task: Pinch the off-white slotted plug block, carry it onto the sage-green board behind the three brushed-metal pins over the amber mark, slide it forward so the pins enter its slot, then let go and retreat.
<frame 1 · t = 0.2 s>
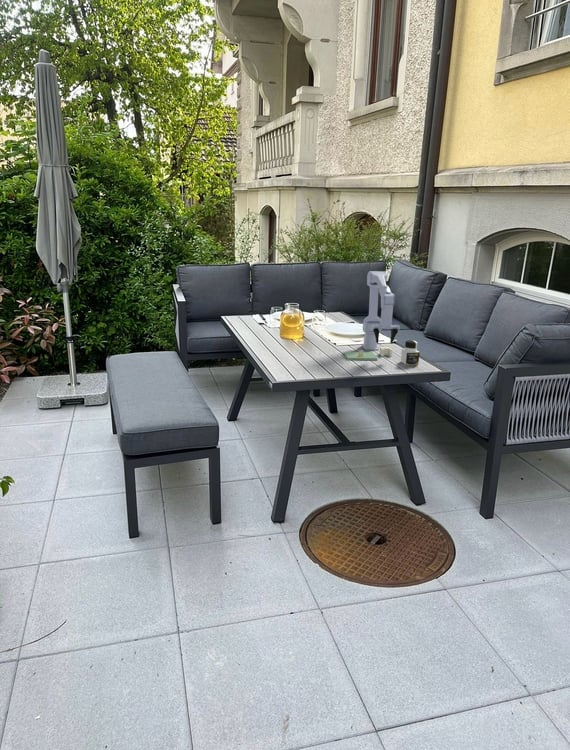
hand: (384, 342, 296), 10 cm above the table, tool pointing down, fingers open, 7 cm apart
medicine bottle: (409, 363, 296), on the table
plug: (385, 355, 310), on the table
header board: (360, 357, 305), on the table
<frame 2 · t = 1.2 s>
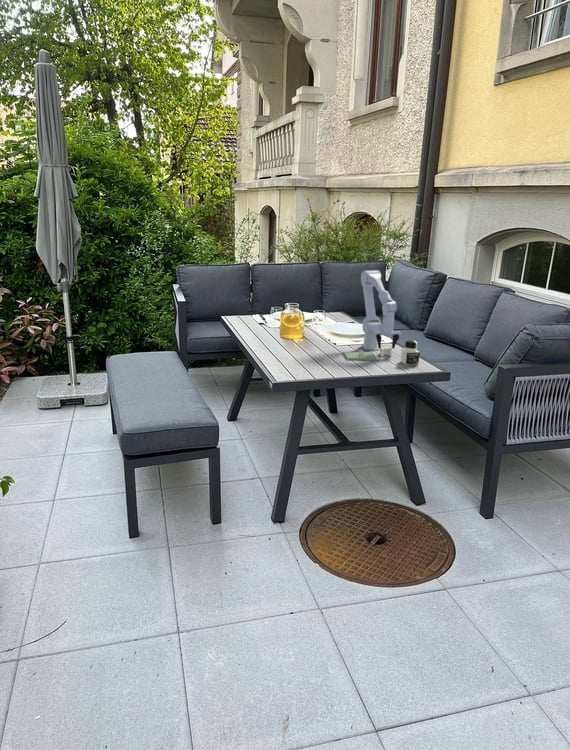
hand: (386, 348, 309), 4 cm above the table, tool pointing down, fingers open, 7 cm apart
nothing on the table moved.
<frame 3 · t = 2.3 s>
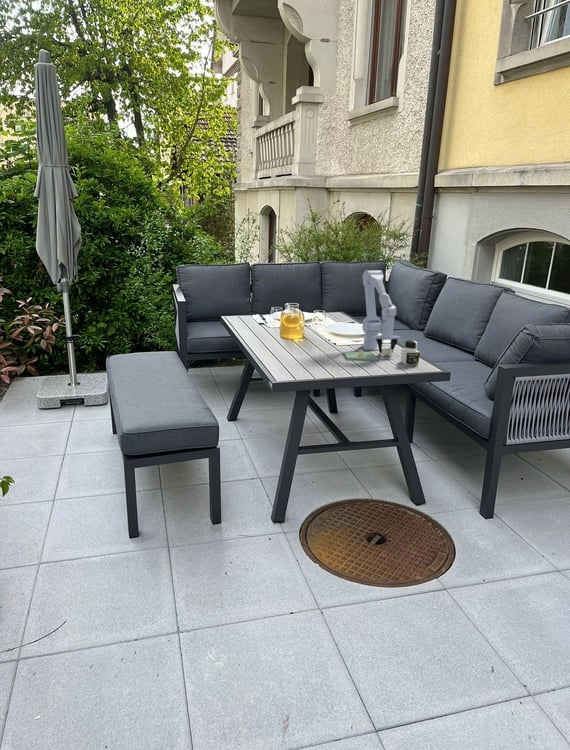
hand: (385, 352, 309), 2 cm above the table, tool pointing down, fingers closed on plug, 5 cm apart
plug: (385, 355, 310), on the table, touching gripper
everything else where it was.
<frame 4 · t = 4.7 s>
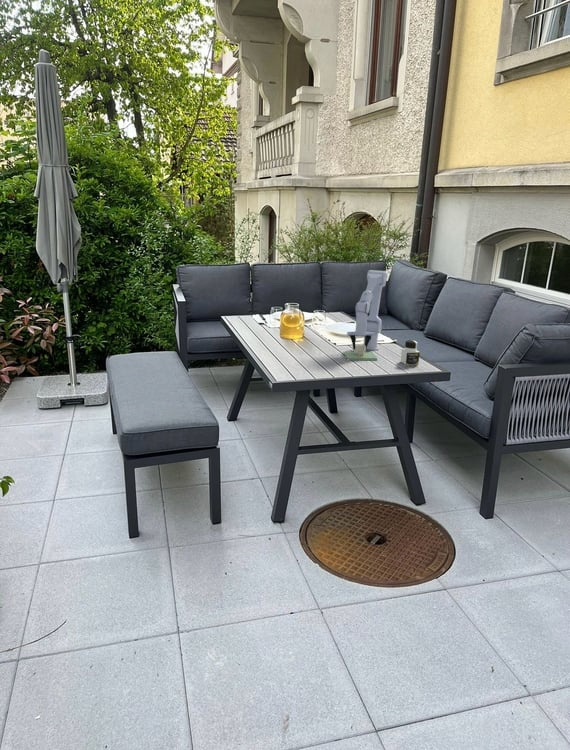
hand: (359, 349, 306), 4 cm above the table, tool pointing down, fingers closed on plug, 5 cm apart
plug: (359, 352, 306), point 2 cm above the table, touching gripper
everything else where it was.
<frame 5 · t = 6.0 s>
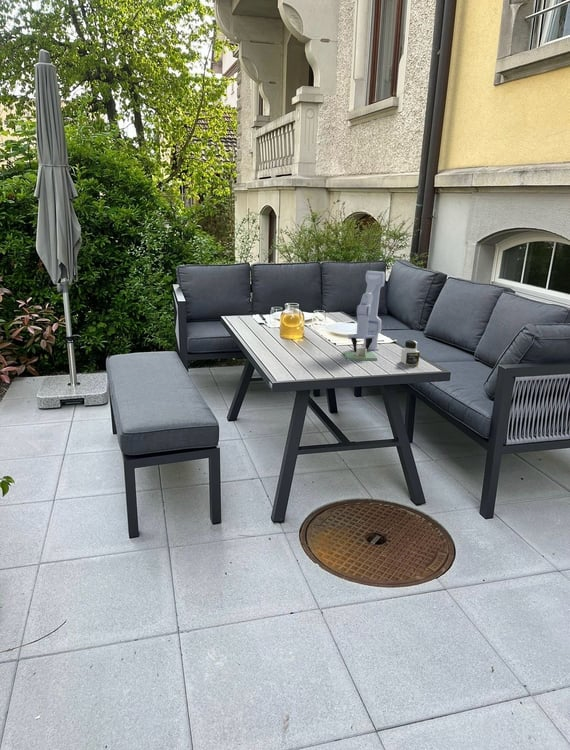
hand: (360, 351, 303), 3 cm above the table, tool pointing down, fingers closed on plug, 5 cm apart
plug: (360, 355, 304), point 1 cm above the table, touching gripper
everything else where it was.
when the fingers open (3 cm above the table, at t = 6.9 s): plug stays where it is, resting on header board.
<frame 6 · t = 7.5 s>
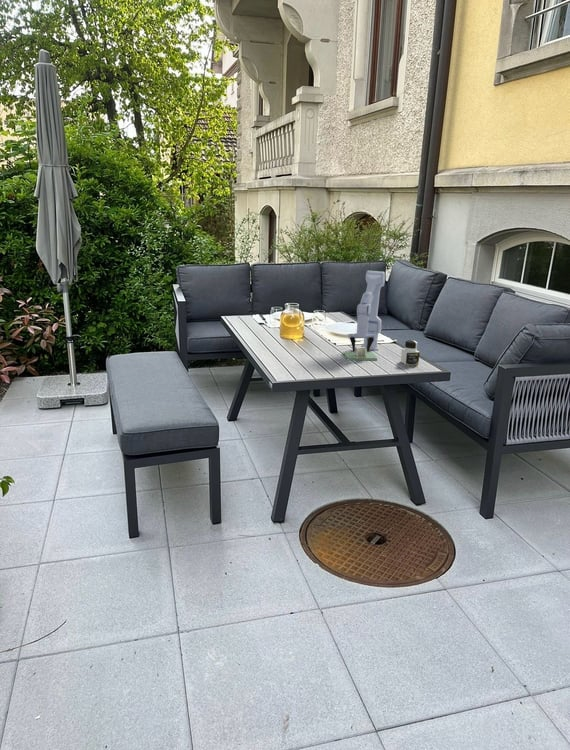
hand: (360, 351, 303), 3 cm above the table, tool pointing down, fingers open, 7 cm apart
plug: (360, 355, 304), point 1 cm above the table, touching header board
everything else where it was.
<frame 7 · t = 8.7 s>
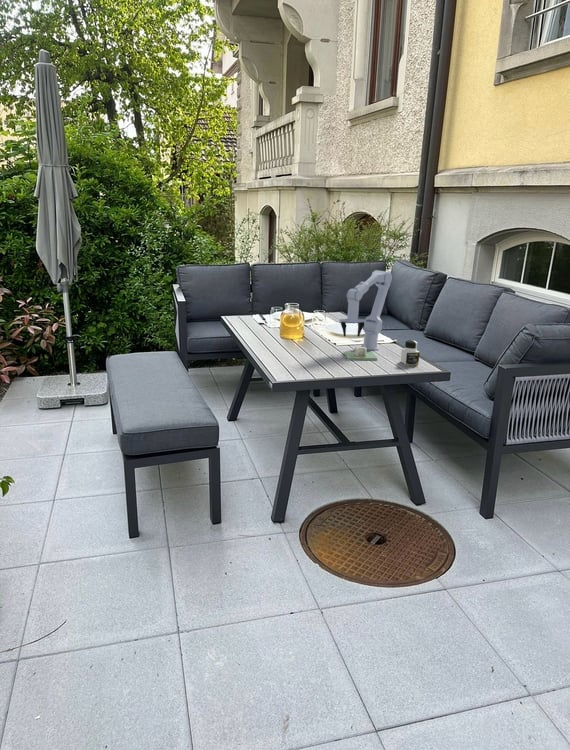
hand: (351, 336, 308), 10 cm above the table, tool pointing down, fingers open, 7 cm apart
nothing on the table moved.
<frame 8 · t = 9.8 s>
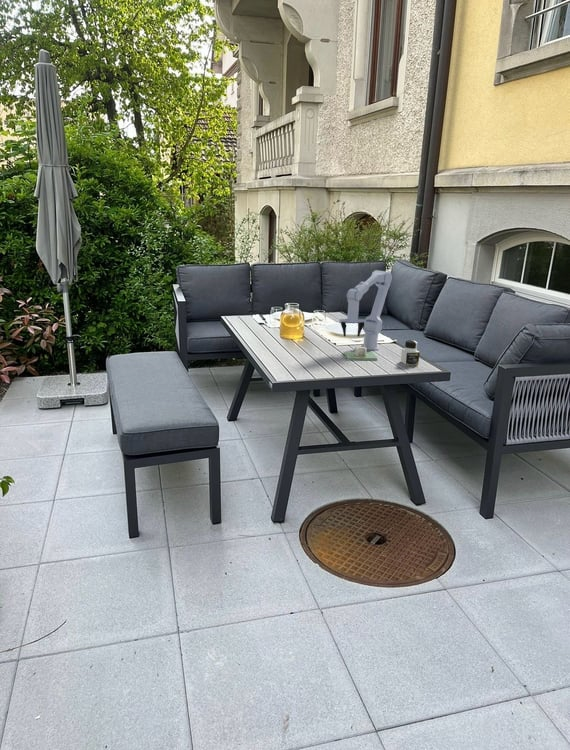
hand: (351, 336, 308), 10 cm above the table, tool pointing down, fingers open, 7 cm apart
nothing on the table moved.
at the end: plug 0.0 cm off-centre on the header board, point 1.3 cm above the header board's base; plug tilted 2°; the gripper is holding nothing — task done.
